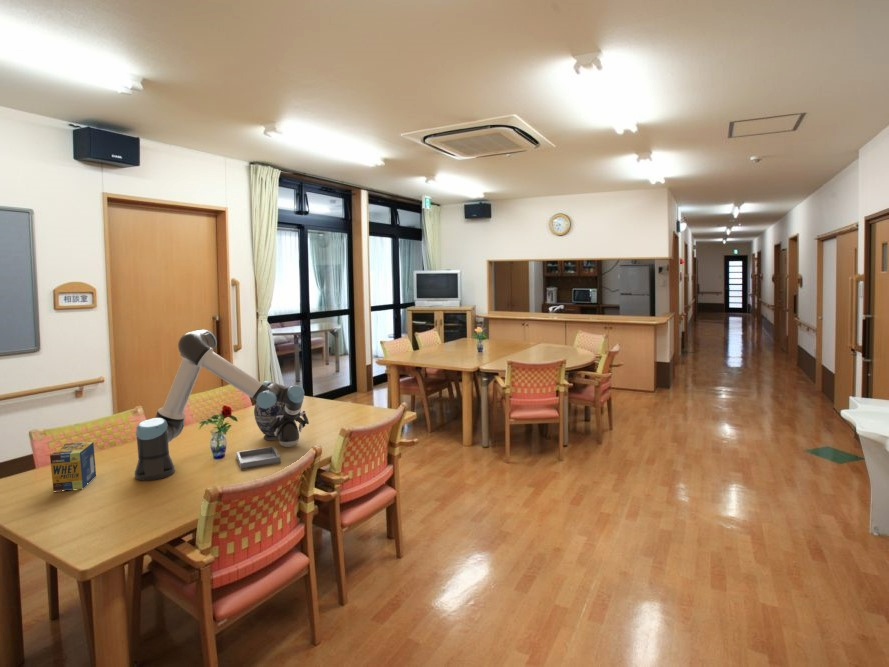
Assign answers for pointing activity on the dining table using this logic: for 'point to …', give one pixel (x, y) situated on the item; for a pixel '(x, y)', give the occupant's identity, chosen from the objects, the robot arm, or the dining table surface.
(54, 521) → the dining table surface
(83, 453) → the protein box
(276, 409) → the decorative vase
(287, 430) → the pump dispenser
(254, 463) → the tray
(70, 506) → the dining table surface
